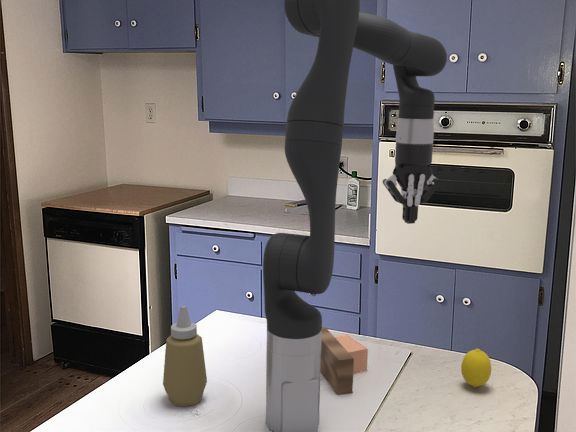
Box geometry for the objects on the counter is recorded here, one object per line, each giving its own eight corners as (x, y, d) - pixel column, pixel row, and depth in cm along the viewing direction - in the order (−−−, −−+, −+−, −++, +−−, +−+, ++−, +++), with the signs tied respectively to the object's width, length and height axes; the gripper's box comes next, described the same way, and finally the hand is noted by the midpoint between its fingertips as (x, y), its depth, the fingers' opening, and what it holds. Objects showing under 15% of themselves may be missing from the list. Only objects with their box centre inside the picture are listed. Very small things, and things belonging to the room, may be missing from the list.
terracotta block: (366, 371, 125) (367, 348, 124) (345, 375, 123) (346, 352, 122) (346, 355, 132) (347, 334, 131) (326, 359, 130) (327, 337, 129)
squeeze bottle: (168, 387, 117) (166, 298, 113) (210, 389, 116) (209, 299, 113) (158, 409, 109) (155, 314, 105) (203, 411, 108) (202, 315, 105)
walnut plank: (352, 392, 116) (353, 358, 114) (337, 394, 115) (338, 360, 114) (324, 357, 131) (325, 326, 129) (310, 358, 130) (311, 328, 129)
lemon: (494, 387, 119) (497, 349, 117) (481, 397, 115) (485, 357, 113) (468, 377, 123) (471, 340, 121) (454, 387, 119) (457, 349, 117)
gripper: (393, 142, 120) (388, 228, 124) (452, 142, 124) (446, 225, 127) (377, 139, 127) (373, 220, 131) (433, 139, 131) (428, 217, 134)
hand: (409, 222), depth 129 cm, fingers closed
